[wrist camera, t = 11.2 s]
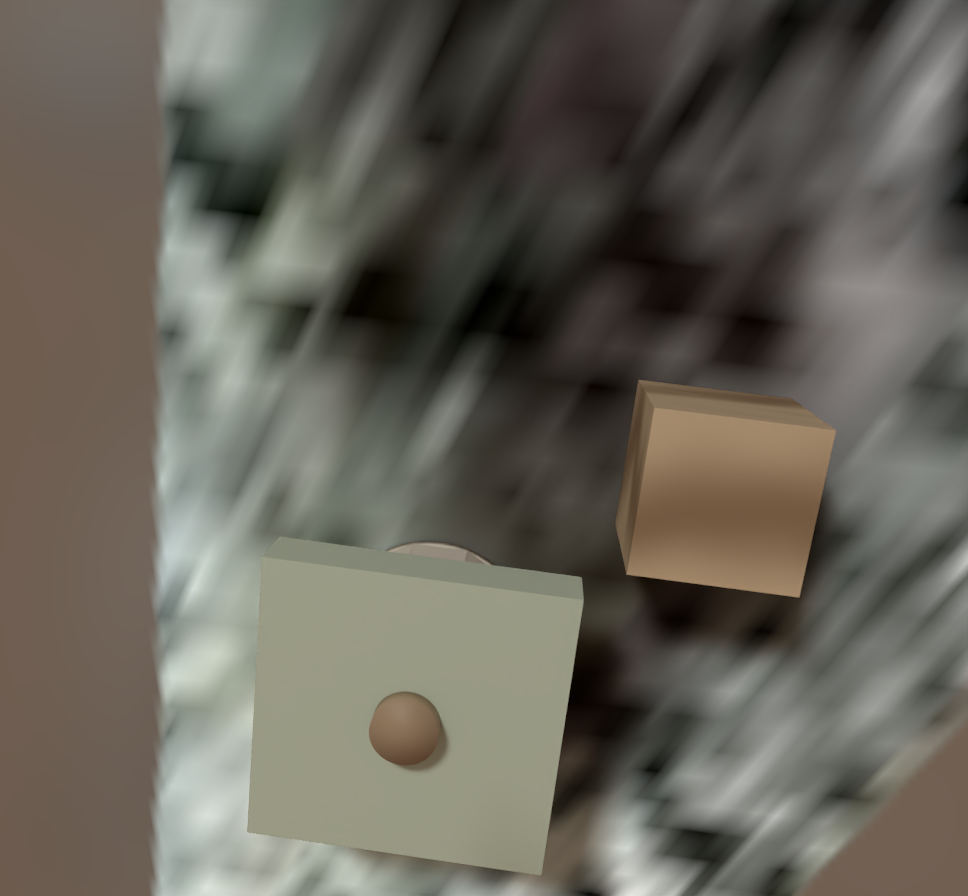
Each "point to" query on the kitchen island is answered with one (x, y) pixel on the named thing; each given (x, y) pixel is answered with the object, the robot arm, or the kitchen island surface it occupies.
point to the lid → (410, 703)
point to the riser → (721, 488)
